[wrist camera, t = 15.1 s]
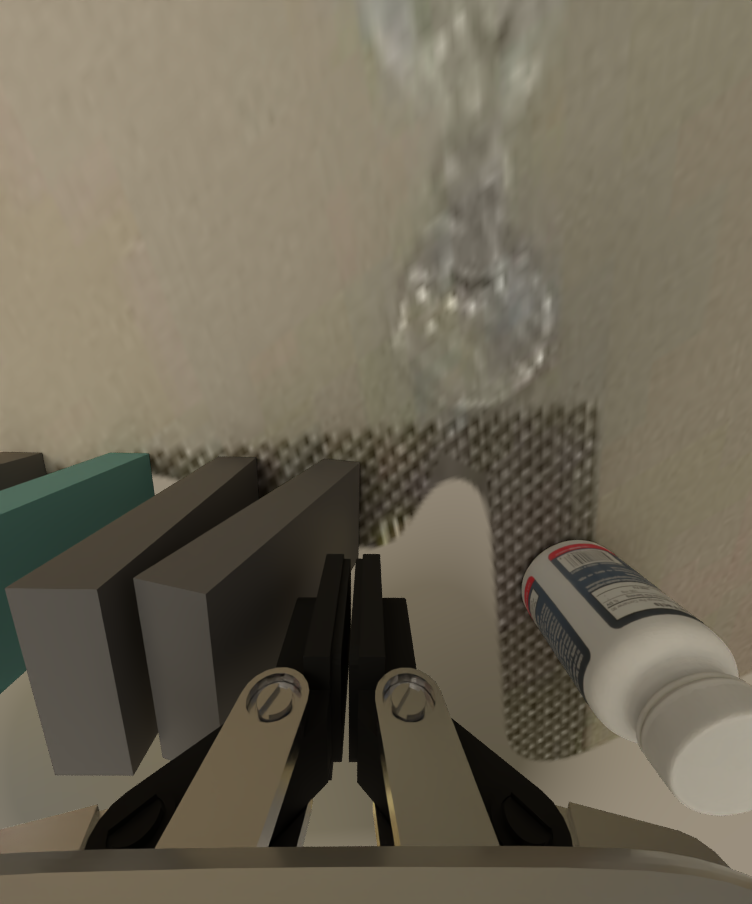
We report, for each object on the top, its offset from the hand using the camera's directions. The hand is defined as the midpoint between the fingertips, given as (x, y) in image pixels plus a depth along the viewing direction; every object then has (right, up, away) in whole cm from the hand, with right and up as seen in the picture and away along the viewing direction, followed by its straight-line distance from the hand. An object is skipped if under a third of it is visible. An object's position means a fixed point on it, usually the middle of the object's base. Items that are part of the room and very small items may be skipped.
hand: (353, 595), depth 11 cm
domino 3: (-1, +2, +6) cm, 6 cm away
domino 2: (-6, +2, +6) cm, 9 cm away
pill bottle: (+11, -2, +8) cm, 14 cm away
